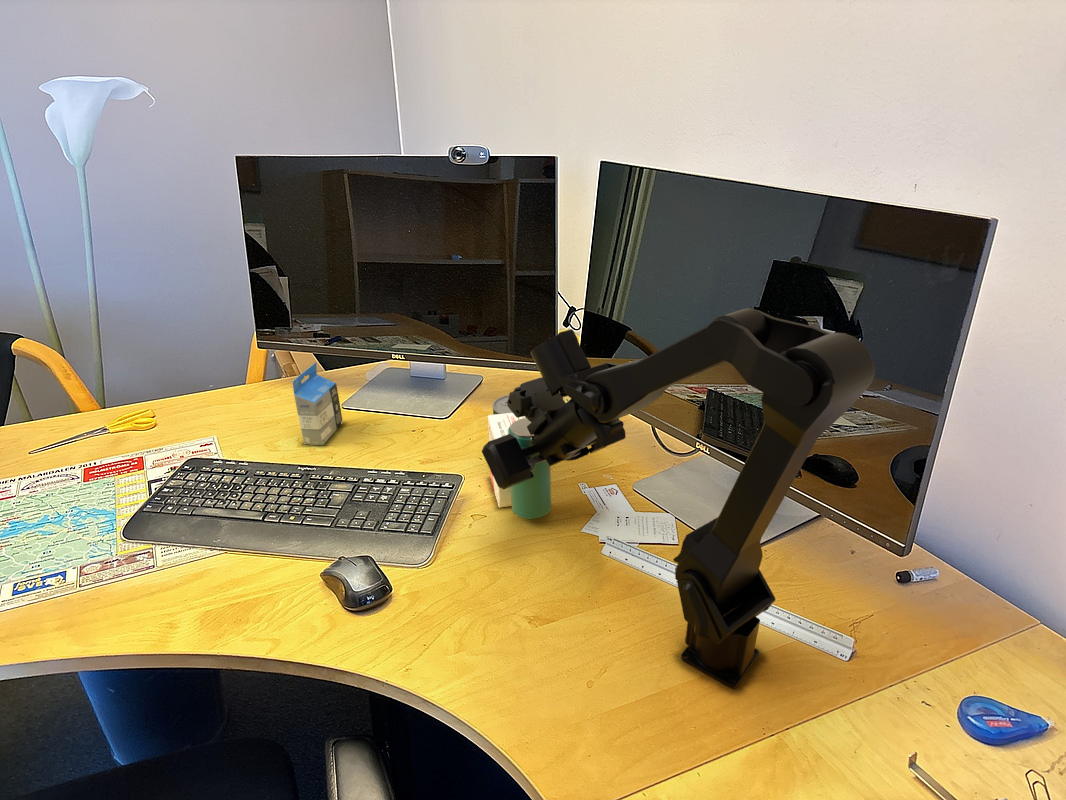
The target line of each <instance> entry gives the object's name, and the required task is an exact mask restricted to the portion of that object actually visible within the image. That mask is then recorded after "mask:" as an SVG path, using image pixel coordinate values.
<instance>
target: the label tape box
mask: <svg viewBox="0 0 1066 800" xmlns="http://www.w3.org/2000/svg"><path fill="white" fill-rule="evenodd" d="M317 364H318V363H317V361H316V362H314V363H313V364H311V365H310V366H309V367H308V368H306V369H305V370H304V371H302V372H301V373H300V374H299V375H298V376H296V378H294V379H293V380H292V389H293V396H294V401H295V406H296V411H297V416H298V422H299V426H300V432H301V436H302V440H303V441H302V442H303V444H304V445H311V446H324V445H325V444H326V443H327V442H328V440H329V439H330V438H331V437H332V436H333V435H334V433H335V432H336V431H337V430H338V429H339V428H340V427H341V425H342V424H343V423H344V422H343V420H344V419H343V415H342V408H341V404H340V403H341V401H340V398H339V397H340V396H339V391H338V385H337V382H334V381H332V380H330V379H328V378H326V377H324V376H321V375H319V374H317ZM305 377H307V378H306V379H305ZM304 379H305V380H304ZM302 381H303V382H302Z"/></svg>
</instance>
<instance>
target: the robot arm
mask: <svg viewBox="0 0 1066 800" xmlns="http://www.w3.org/2000/svg"><path fill="white" fill-rule="evenodd" d="M530 356H531V357H532V359H533V361H534V363H535V366H536V367H537V369H538V371H539V374H540V375H541V377H538V378H534V379H531V380H527V381H525V382H522V383H521V384H520V385H519V386H517V387H514V389H513V390H512V391H510V392H509V393H508V395H509V398H508V401H507V405H508V407H509V409H510V410H511V411H512V412H513V414H514V415H515V416H516V417H518V418H519V417H522V416H525V417H526V418H527V419H528V420H529V421H531V423H530V424H529V425H528V426H527V429H528V431H529V433H530V434H531V435H533V434H534V436H533V437H532V438H531V439H530V440H531V442H532V444H533V446H531V447H528V448H525V447H523V448H521V447H520V445H519V443H518V441H517V439H516V437H514V436H513V435H511V434H508V435H505V436H502V437H500V438H497V439H494V440H491V441H489V440H488V441H487V443H485V444H484V445H483V447H482V449H481V454H482V455H483V458H484V460H485V462H486V464H487V466H488V468H489V471H490V470H491V472H492V474H493V477H494V479H495V481H496V483H497V485H498V487H499V488H502V489H507V488H509V487H511V486H514V485H516V484H519V483H521V482H523V481H526V480H528V479H530V478H533V477H534V475H533V473H532V471H533V470H534V469H535V464H538V463H540V462H543V461H545V460H547V462H548V464H549V466H551V467H552V466H554V465H557V464H559V463H562V462H565V461H568V462H569V461H576V460H578V459H581V458H584V457H587V456H588V455H589V454H594V453H596V452H598V451H601V450H604V449H605V448H607V447H608V446H611V445H613V444H616V443H618V442H620V441H623V440H625V439H626V436H627V435H626V429H625V428H624V421H622V420H620V419H621V418H623V417H626V416H628V415H629V416H630V415H631V414H633V413H636V412H639V411H641V410H645V409H646V408H648V407H649V406H650V405H651V404H653V403H654V402H656V401H657V400H658V399H659V398H661V397H662V396H663V394H664V392H665V391H666V390H667V389H669V388H671V387H672V386H674V385H676V384H678V383H680V382H682V381H684V380H687V379H689V378H692V377H693V376H696V375H698V374H700V373H702V372H705V371H707V370H709V369H711V368H714V367H715V366H719V365H720V364H722V363H725V362H726V363H728V364H730V365H732V366H733V368H734V369H735V370H736V371H737V373H738V374H739V375H740V377H741V378H742V379H743V381H745V382H746V384H748V385H749V386H751V387H752V388H754V389H756V390H758V391H760V392H761V398H760V401H761V407H762V408H761V409H762V414H763V423H762V424H763V425H762V427H761V428H760V429H761V430H760V431H759V433H758V434H757V437H756V439H755V442H754V443H753V446H752V448H751V449H750V452H749V453H748V456H747V457H746V459H745V462H744V464H743V465H742V468H741V470H740V472H739V474H738V476H737V478H736V480H735V482H734V484H733V487H732V488H731V490H730V493H729V494H728V496H727V499H726V500H725V503H724V504H723V507H722V509H721V511H720V513H719V515H718V516H717V517H715V518H714V519H712V520H709V521H708V522H706V523H705V524H703V525H701V526H699V527H698V528H696V529H693V530H692V531H691V532H689V533H687V534H685V537H684V539H683V540H682V544H681V548H680V552H679V553H678V555H677V556H675V557H673V559H672V560H673V562H675V563H676V566H675V571H674V579H675V580H676V582H677V583H676V584H677V589H678V594H679V600H680V604H681V610H682V615H683V619H684V621H685V622H687V623H686V631H685V639H684V643H685V645H686V648H685V649H684V650H683V652H682V653H681V655H680V660H681V662H684V663H685V664H687V665H689V666H690V667H693V668H694V669H696V670H698V671H700V672H702V673H703V674H705V675H707V677H710V678H712V679H714V680H716V681H717V682H719V683H721V684H723V686H724V685H725V686H726V687H728V688H730V689H736V688H737V687H738V686H739V685H740V683H741V682H742V680H743V679H744V678H745V676H746V674H747V673H748V672H749V670H750V669H751V667H752V666H753V665H754V663H755V662H756V660H757V659H758V658H759V655H760V651H759V650H758V649H757V648H756V644H757V638H758V634H759V627H760V623H761V618H759V617H758V616H759V615H760V614H762V613H763V612H766V611H767V610H769V609H770V608H771V606H772V605H773V604H774V602H775V601H776V597H775V595H774V593H773V591H772V589H771V587H770V586H769V584H768V582H767V581H766V579H765V577H764V575H763V573H762V571H761V570H760V567H761V564H762V560H763V558H764V556H763V549H762V545H761V541H762V538H763V536H764V534H765V532H766V531H767V529H768V527H769V525H770V524H771V522H772V520H773V518H774V516H775V514H776V513H777V511H778V510H779V508H780V506H781V504H782V502H783V500H784V499H785V498H786V495H787V494H788V492H789V490H790V488H791V487H792V485H793V484H794V483H793V482H794V481H795V479H796V477H797V476H798V474H799V472H800V470H801V468H802V467H803V465H804V463H805V461H806V459H807V458H808V456H809V454H810V453H811V451H812V449H813V447H814V445H815V444H816V442H817V440H818V439H819V437H821V435H822V434H824V433H825V431H826V430H828V429H829V428H830V427H831V426H832V425H833V424H834V423H835V422H836V421H838V420H839V419H840V418H841V417H842V416H843V415H844V414H845V413H847V412H848V410H850V408H851V407H852V406H853V405H854V404H855V402H857V401H858V400H859V398H860V397H861V396H862V395H863V394H864V393H865V392H866V390H867V389H868V388H869V387H870V386H871V384H872V383H873V381H874V378H875V374H876V364H875V363H874V362H873V359H872V355H871V353H870V351H869V350H868V348H867V347H866V345H865V344H864V343H863V342H862V341H860V340H859V338H857V337H855V336H852V335H850V334H848V333H845V332H832V333H831V332H828V331H825V330H823V329H821V328H819V327H816V326H813V325H809V324H805V323H800V322H796V321H792V320H787V319H782V318H778V317H776V316H775V317H774V316H772V315H770V314H768V313H765V312H763V311H761V310H758V309H755V308H750V307H746V308H743V309H739V310H736V311H733V312H730V313H726V314H722V315H719V316H717V317H716V318H714V319H713V320H712V321H711V322H710V323H709V324H708V325H705V326H704V327H701V328H700V329H698V330H696V331H694V332H692V333H690V334H689V335H686V336H684V337H682V338H680V339H679V340H677V341H675V342H673V343H671V344H669V345H667V346H665V347H663V348H661V349H660V350H658V351H656V352H654V353H652V354H650V355H648V356H646V357H643V358H640V359H635V360H631V361H628V362H624V363H621V364H620V363H619V364H618V363H614V362H610V361H607V362H603V363H600V364H598V365H595V366H592V365H591V364H590V362H589V360H588V358H587V356H586V354H585V352H584V350H583V348H582V347H581V345H580V342H579V339H578V336H577V335H576V333H575V331H574V329H572V328H570V329H567V330H562V331H559V332H558V334H556V335H555V336H553V337H551V338H549V339H547V340H545V341H543V342H542V343H541V344H537V345H536V346H534V347H533V348H532V349H531V351H530ZM565 397H568V398H570V399H569V400H568V401H567V402H566V401H565V400H564V398H565ZM534 444H535V445H534ZM589 446H590V447H589ZM538 453H539V454H540V455H537V456H535V457H531V456H533V455H536V454H538ZM530 457H531V458H530Z"/></svg>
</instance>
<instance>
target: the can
mask: <svg viewBox="0 0 1066 800" xmlns="http://www.w3.org/2000/svg"><path fill="white" fill-rule="evenodd" d="M530 423H531V421H529V420H528V419H527V418H524V419H520V420H517V421H515V422H513V423H512V424H511V426H510V427H509V429H508V434H511V435H513V436H514V437H516V439H517V441H518V443H519V445H520V447H521V448H523V447H525V448H528V447H531V446H533V444H532V442H531V440H530V439H531V438H532V437H533V436H534V434H533V435H531V434H530V433H529V431H528V429H527V426H528V425H529V424H530ZM534 445H535V444H534ZM537 455H540V454H539V453H538V454H536V455H533V456H531V457H535V456H537ZM531 457H530V458H531ZM551 467H552V466H549V464H548V462H547V460H545V461H543V462H540V463H538V464H535V469H534V470H533V471H532V473H533V475H534V477H533V478H530V479H528V480H526V481H523V482H521V483H519V484H516V485H514V486H511V503H512V506H511V510H512V513H513V514H514V515H516V516H517V517H520V518H522V519H527V520H528V519H529V520H532V519H533V520H535V519H539V518H543V517H545V516H546V515H548V514H549V513H550V512H551V510H552V479H551V478H552V470H551V469H552V468H551Z"/></svg>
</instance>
